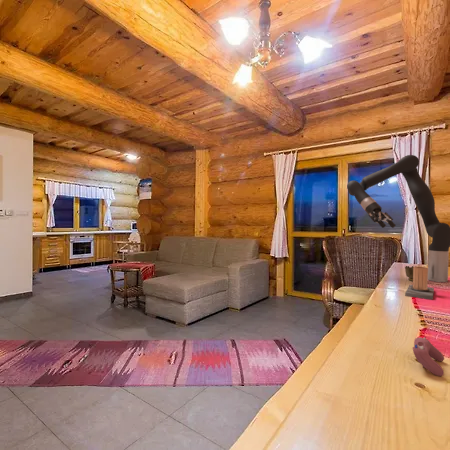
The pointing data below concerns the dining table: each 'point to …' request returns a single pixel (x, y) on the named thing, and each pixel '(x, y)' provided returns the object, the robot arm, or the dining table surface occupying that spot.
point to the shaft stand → (420, 292)
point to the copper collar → (420, 278)
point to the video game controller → (428, 355)
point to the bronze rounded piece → (409, 272)
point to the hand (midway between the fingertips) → (389, 226)
